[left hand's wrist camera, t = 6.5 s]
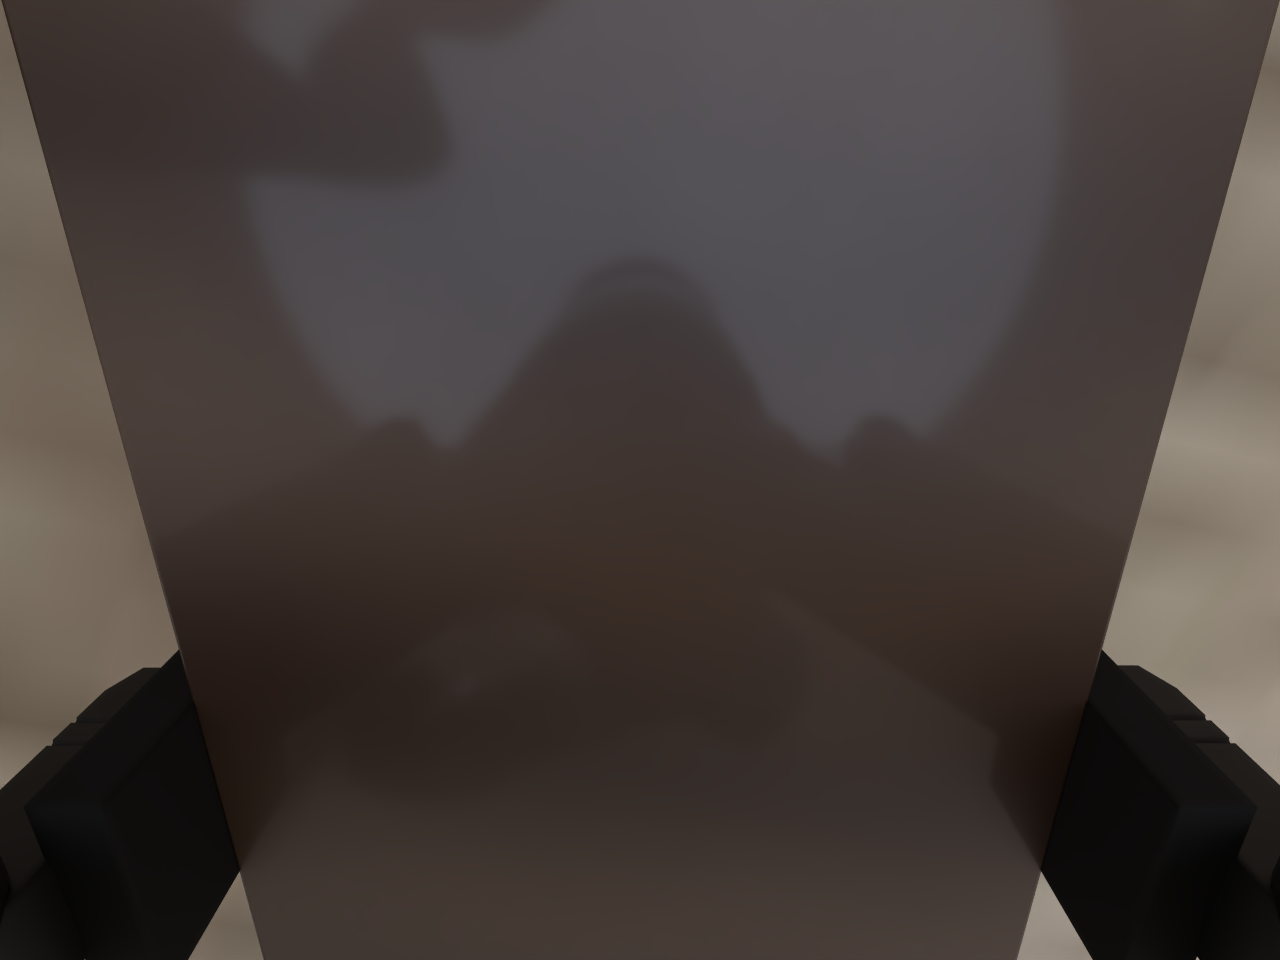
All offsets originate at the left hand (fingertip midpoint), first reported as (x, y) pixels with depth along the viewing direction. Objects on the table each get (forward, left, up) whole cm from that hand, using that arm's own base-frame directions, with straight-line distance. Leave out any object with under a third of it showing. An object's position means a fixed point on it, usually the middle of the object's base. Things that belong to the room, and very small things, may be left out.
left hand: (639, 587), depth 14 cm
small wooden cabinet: (0, +7, -7) cm, 10 cm away
